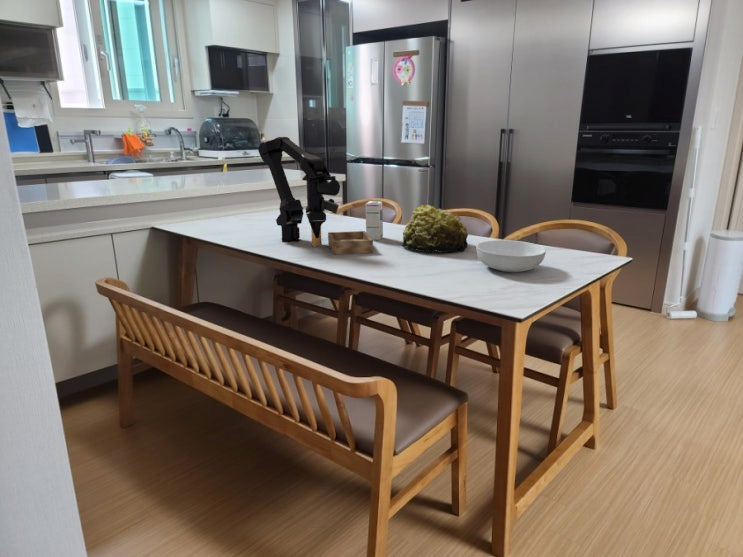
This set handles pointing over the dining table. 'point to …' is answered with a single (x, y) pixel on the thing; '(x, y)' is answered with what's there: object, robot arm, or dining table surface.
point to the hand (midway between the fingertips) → (316, 235)
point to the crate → (350, 242)
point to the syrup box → (374, 220)
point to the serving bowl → (510, 255)
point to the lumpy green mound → (434, 231)
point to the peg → (316, 239)
